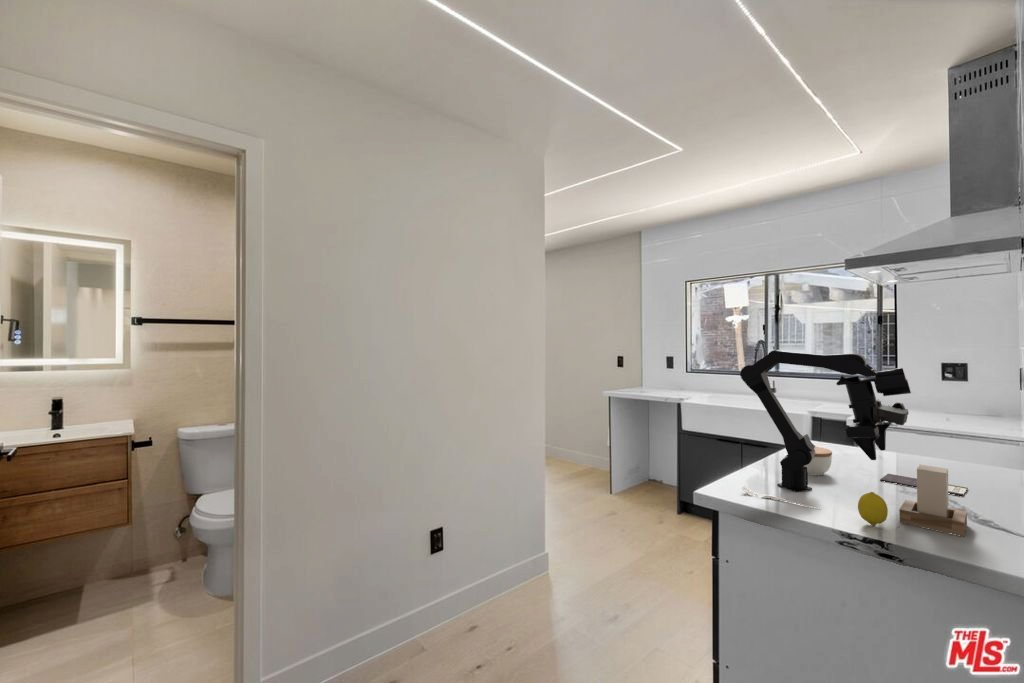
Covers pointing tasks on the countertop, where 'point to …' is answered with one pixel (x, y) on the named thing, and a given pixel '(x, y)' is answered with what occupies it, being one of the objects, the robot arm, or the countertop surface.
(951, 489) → the chocolate bar
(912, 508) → the tray
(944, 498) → the clay bar
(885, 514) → the lemon
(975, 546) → the countertop surface
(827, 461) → the lidded jar
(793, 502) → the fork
